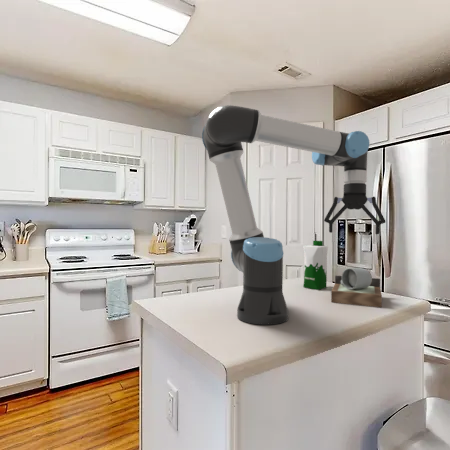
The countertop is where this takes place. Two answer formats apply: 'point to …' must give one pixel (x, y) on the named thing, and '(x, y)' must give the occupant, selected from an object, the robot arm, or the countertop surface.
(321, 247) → the milk carton
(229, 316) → the countertop surface
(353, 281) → the ceramic mug
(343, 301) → the step
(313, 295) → the countertop surface
